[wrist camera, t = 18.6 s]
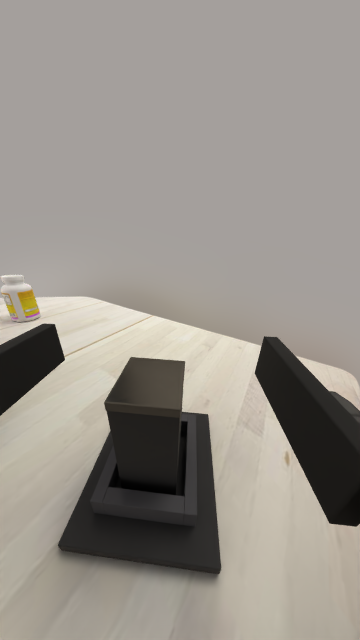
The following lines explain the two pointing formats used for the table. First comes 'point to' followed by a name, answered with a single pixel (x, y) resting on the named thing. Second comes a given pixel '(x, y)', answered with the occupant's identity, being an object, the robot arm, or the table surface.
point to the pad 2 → (152, 510)
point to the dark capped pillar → (147, 423)
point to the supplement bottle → (19, 298)
